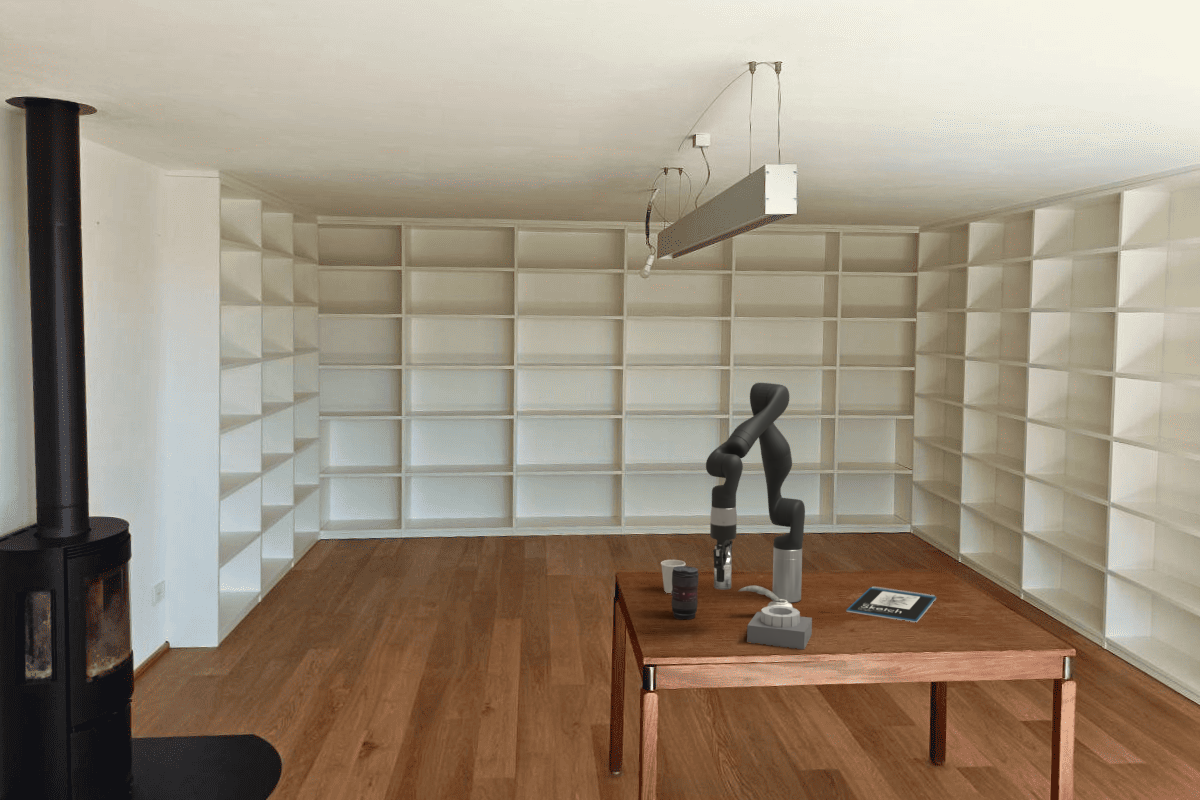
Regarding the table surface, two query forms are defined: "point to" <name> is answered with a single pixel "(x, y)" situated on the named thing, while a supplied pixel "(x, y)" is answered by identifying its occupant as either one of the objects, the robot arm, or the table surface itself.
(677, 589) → the camera lens
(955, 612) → the table surface
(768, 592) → the inkwell
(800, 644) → the grey socket base
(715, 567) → the robot arm
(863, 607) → the sketchbook
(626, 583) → the table surface
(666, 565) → the dixie cup
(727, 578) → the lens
